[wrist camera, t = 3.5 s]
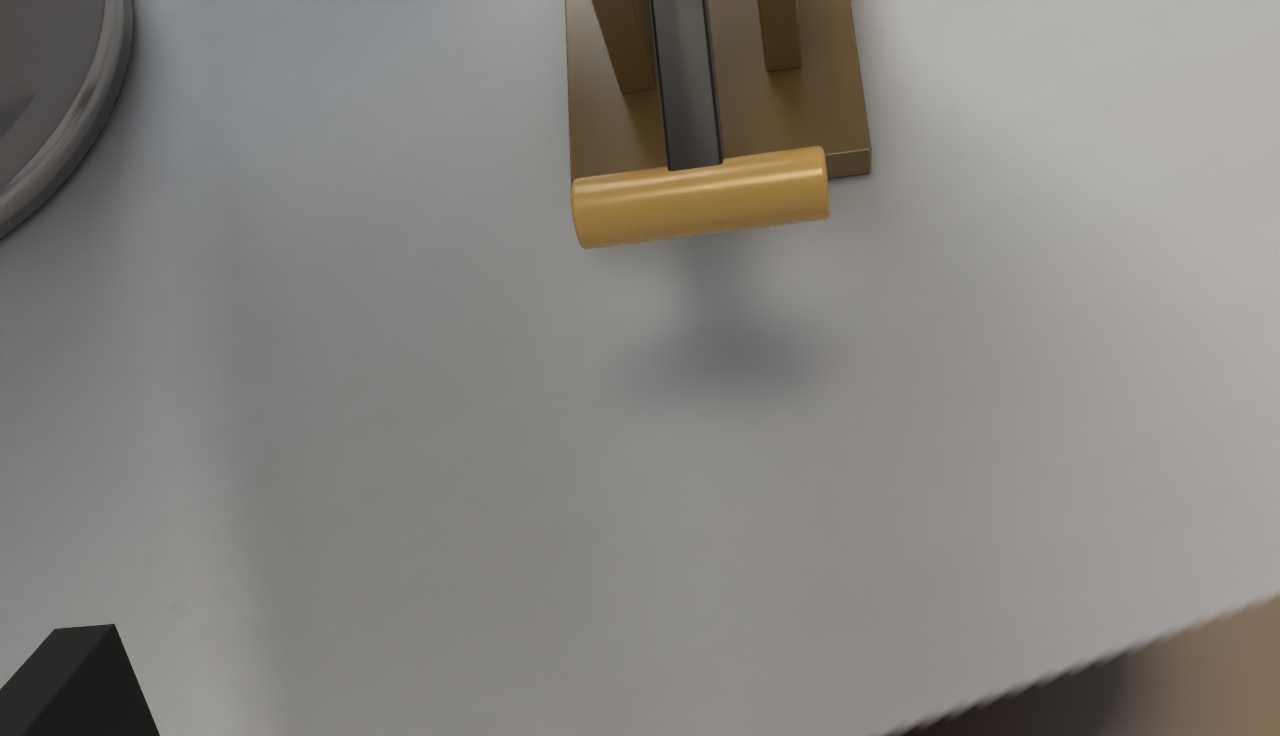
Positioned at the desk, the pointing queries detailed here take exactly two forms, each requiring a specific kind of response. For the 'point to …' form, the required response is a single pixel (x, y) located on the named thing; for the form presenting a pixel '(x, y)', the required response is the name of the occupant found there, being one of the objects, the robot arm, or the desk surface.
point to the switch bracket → (718, 83)
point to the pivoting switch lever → (696, 158)
